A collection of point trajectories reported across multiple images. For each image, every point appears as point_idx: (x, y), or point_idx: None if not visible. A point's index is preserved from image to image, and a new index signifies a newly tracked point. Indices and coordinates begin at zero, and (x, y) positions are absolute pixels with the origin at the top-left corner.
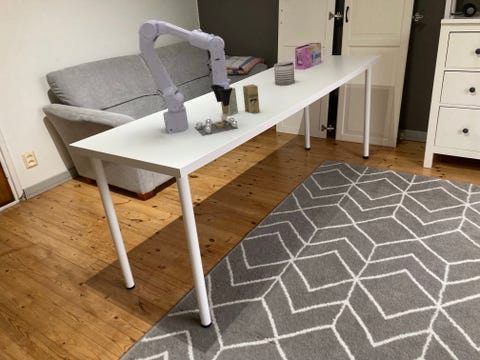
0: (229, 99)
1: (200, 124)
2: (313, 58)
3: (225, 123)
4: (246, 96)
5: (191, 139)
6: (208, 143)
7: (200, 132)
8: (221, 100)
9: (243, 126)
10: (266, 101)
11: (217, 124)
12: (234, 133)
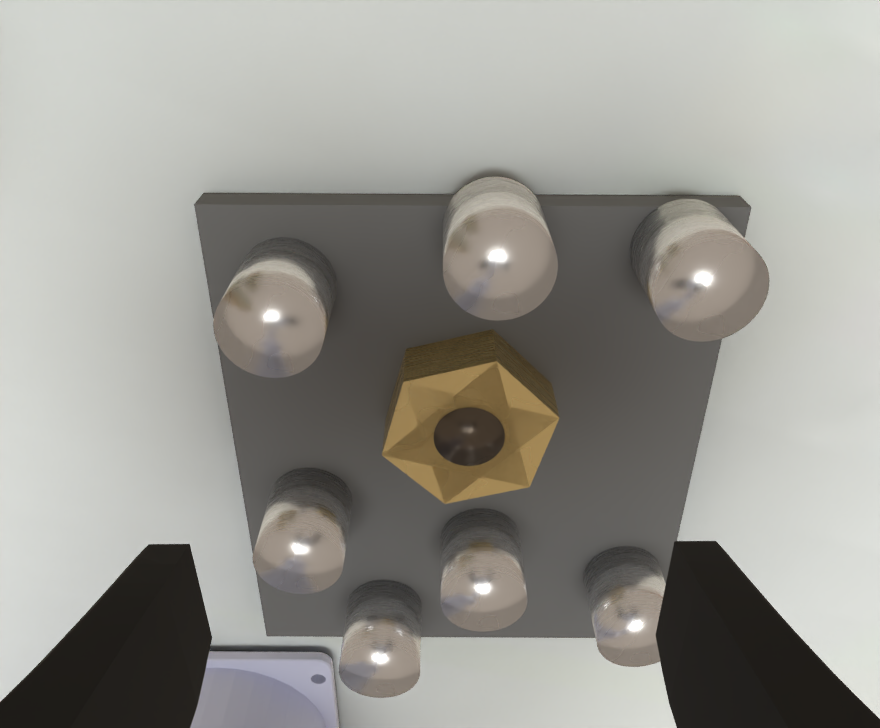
0: (823, 666)
1: (419, 661)
2: None
3: (496, 352)
4: None
5: (602, 697)
6: (864, 617)
7: (517, 628)
8: (185, 591)
9: (620, 39)
10: None
11: (509, 478)
12: (820, 296)
